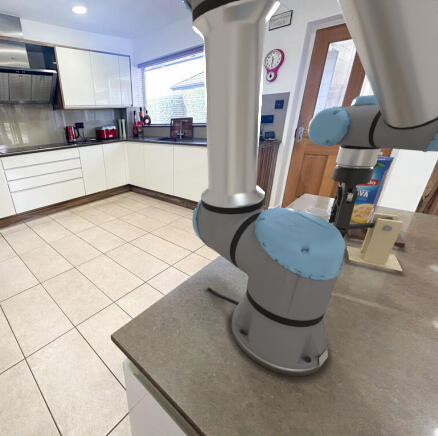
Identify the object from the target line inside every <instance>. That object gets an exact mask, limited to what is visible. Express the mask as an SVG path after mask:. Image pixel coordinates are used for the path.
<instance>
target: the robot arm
mask: <svg viewBox="0 0 438 436" xmlns="http://www.w3.org/2000/svg"><path fill="white" fill-rule="evenodd" d="M180 1H181V2H182V3H184V4H185V9H186V10H187V13H189V14H190V15H191V17H192V20H191V21H192V28H193V30H194V31H195V32H196V33H197V34H199V35H200V36H201V38H202V39H203V55H204V56H203V58H204V59H203V62H204V88H205V89H204V91H205V124H206V151H207V152H206V154H207V180H208V182H207V184H208V186H207V188H206V189H204V190H203V191H202V192H201V195H200V200H199V201H198V202H197V207H196V208H194V210H193V213H192V218H191V219H192V223H191V224H192V228H193V232H194V233H195V235H196V237H198V239H199V240H201V242H202V243H203V245H205V246H206V247H208V248H210V249H211V250H213V251H214V252H215V253H217V254H218V255H219V256H221V257H222V258H224V259H225V260H227V261H228V262H229V263H231V264H232V265H233V266H235V267H236V268H238V269H239V270H240V271H241V272H243V273H244V274H245V275H246V276H247V277H248V279H247V283H246V284H247V285H246V290H245V291H246V292H245V293H244V295H243V296H242V298H241V299H240V301H237V300H234V299H232V298H231V297H228V296H225V295H222V294H220V293H218V292H216V291H215V290H214V289H212V288H211V287H208V288H207V289H206V290H207V291H208V292H209V293H211V294H212V295H214V296H216V297H217V298H220V299H222V300H225V301H227V302H228V303H231V304H233V305H236V306H235V308H234V310H233V313H232V316H231V325H230V326H231V332H232V337H233V338H234V340H235V342H236V344H237V345H238V346H239V348H240V349H241V350H242V352H244V354H245V355H246V356H247V357H249V358H250V359H251V360H252V361H254V362H255V363H256V364H258V365H260V366H261V367H263V368H265V369H266V370H269V371H272V372H274V373H277V374H280V375H285V376H289V377H305V376H309V375H312V374H314V373H316V372H317V371H319V370H320V368H322V366H323V365H324V363H325V361H326V360H327V358H329V351H328V340H327V334H326V328H325V321H324V317H325V314H326V311H327V308H328V305H329V303H330V299H331V296H332V294H333V291H334V288H335V285H336V283H337V279H338V278H339V275H340V273H341V271H342V269H343V260H344V255H345V250H346V242H345V241H346V240H345V236H346V235H348V228H349V224H351V217H352V213H353V209H354V205H355V201H356V198H357V197H358V191H357V188H356V186H357V185H359V184H367V183H369V182H370V181H371V178H372V175H373V172H374V168H373V167H372V166H374V165H376V162H377V159H378V158H377V157H378V156H382V157H383V154H384V152H383V151H381V150H382V149H394V150H406V151H415V152H417V151H418V152H422V153H428V152H434V153H435V152H438V0H336V1H337V4H338V6H339V9H340V11H341V14H342V17H343V19H344V22H345V25H346V27H347V29H348V32H349V35H350V37H351V39H352V40H351V41H352V42H353V45H354V47H355V49H356V53H357V55H358V58H359V60H360V63H361V65H362V68H363V70H364V73H365V75H366V78H367V80H368V83H369V85H370V88H371V91H372V94H369V95H358V96H356V97H355V98H354V99H353V100H352V101H351V104H350V106H349V105H348V106H332V107H329V108H328V107H327V108H324V109H322V110H320V111H319V112H316V114H315V115H314V116H313V117H312V118H311V120H310V121H309V125H308V127H307V128H308V129H307V135H308V138H309V140H310V141H311V143H312V144H314V145H316V146H320V147H333V146H339V149H338V152H337V156H336V159H335V163H336V165H334V167H333V172H332V175H331V179H332V180H333V182H336V183H338V184H339V183H340V184H339V186H338V185H337V187H336V190H335V191H336V192H335V196H334V199H333V202H332V206H331V207H330V213H331V215H330V216H329V217H328V219H329V221H326V220H324V219H322V218H320V217H318V216H316V215H313V214H311V213H308V212H305V211H304V210H302V209H301V210H300V209H298V210H296V209H295V210H294V209H293V208H290V207H272V208H268V209H265V197H266V195H265V191H264V190H263V189H262V188H261V187H260V186H258V184H257V180H258V179H257V177H258V162H259V161H258V160H259V146H260V130H261V129H260V128H261V127H260V126H261V110H262V96H263V95H262V93H263V75H264V62H265V61H264V60H265V59H264V58H265V43H266V25H267V23H268V21H269V20H270V19H271V17H272V16H273V14H274V13H275V12H276V11H277V9H278V8H279V7H280V2H281V0H180ZM331 209H332V211H331ZM332 214H333V215H332ZM332 222H335V223H334V226H333V225H332V224H331V223H332Z"/></svg>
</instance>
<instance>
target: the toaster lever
mask: <svg viewBox="0 0 438 436" xmlns="http://www.w3.org/2000/svg"><path fill="white" fill-rule="evenodd" d="M381 219H388V220H393V218H392V217H389V218H381ZM376 220H377V219H376ZM334 223H335V222H332V223H331V224H332V225H333V226H334ZM374 225H375V222H372V223H369V222H368V223H350V225H349V228H348V230H350V229H362V228H374Z"/></svg>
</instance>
